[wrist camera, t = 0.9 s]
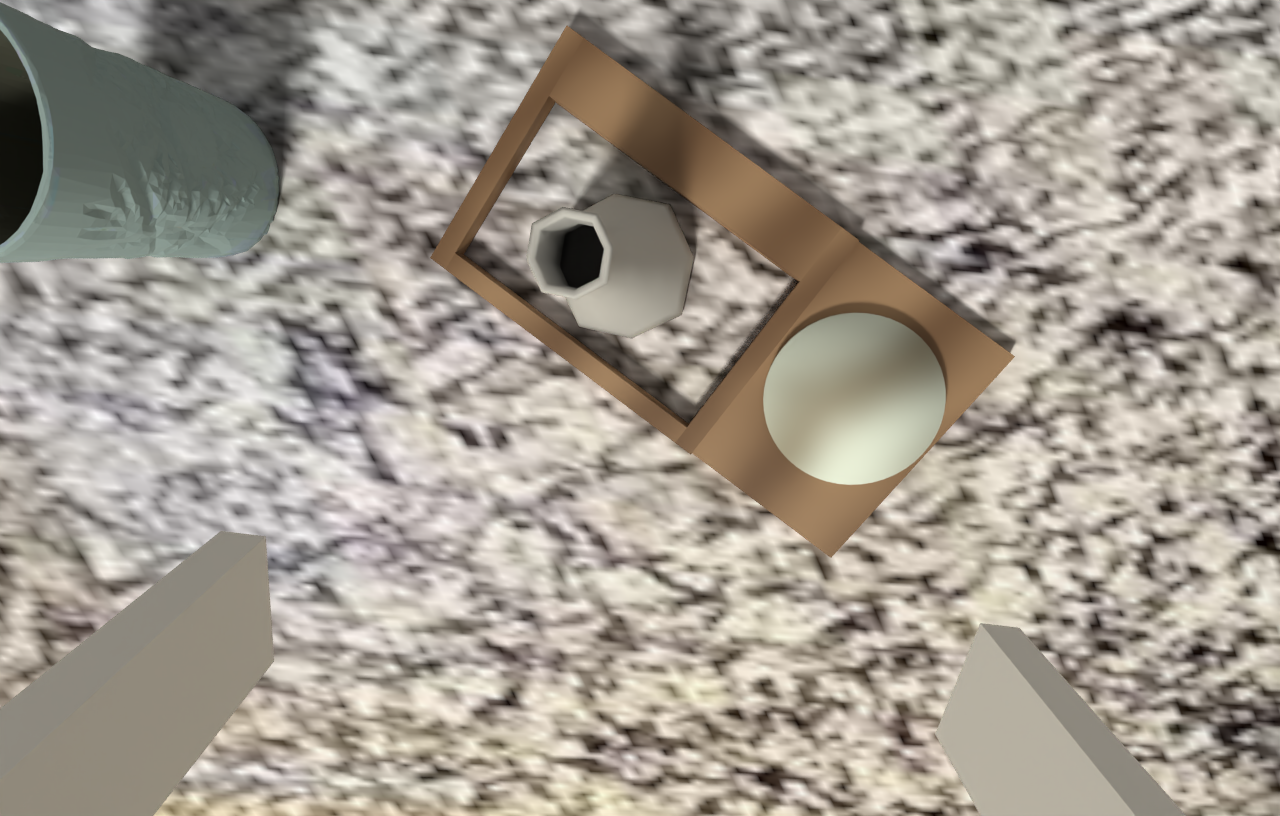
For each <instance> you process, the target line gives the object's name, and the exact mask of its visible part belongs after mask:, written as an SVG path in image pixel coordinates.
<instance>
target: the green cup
mask: <svg viewBox="0 0 1280 816" xmlns="http://www.w3.org/2000/svg"><path fill="white" fill-rule="evenodd" d="M277 173H278V168H277V162H276V159H275V156H274V153H273V150H272V148H271V146H270V144H269V142H268V140H267V138H266V137H265V135H264V134H263V132H262V131H261V130H260V128H259V127H258V126H257V124H256V123H255V122H254V121H253V120H252V119H251V118H250V117H249V116H248V115H246V114H245V113H244V112H242V111H241V110H240V109H238V108H237V107H236V106H234V105H232V104H230V103H229V102H227V101H225V100H223V99H220V98H218V97H216V96H214V95H212V94H209V93H207V92H205V91H203V90H200V89H198V88H196V87H193V86H191V85H189V84H187V83H184V82H182V81H180V80H177V79H174V78H171V77H168V76H167V75H165V74H163V73H161V72H159V71H157V70H155V69H152V68H150V67H148V66H145V65H142V64H140V63H138V62H136V61H135V60H133V59H131V58H128V57H125V56H123V55H121V54H118V53H113V52H107V51H104V50H100V49H96V48H93V47H91V46H90V45H88V44H87V43H86V42H84V41H83V40H82V39H80V38H78V37H76V36H75V35H72V34H69V33H66V32H63V31H60V30H58V29H55V28H53V27H52V26H50V25H47V24H45V23H43V22H40V21H38V20H36V19H34V18H32V17H31V16H29V15H27V14H25V13H23V12H20V11H18V10H16V9H14V8H12V7H9V6H7V5H5V4H3V3H1V2H0V263H11V262H39V261H48V260H56V259H66V258H125V259H132V258H138V257H145V256H152V257H186V258H218V257H224V256H230V255H235V254H238V253H242V252H245V251H247V250H249V249H250V248H251V247H252V246H254V245H255V244H256V243H257V242H258V241H260V240H261V238H262V236H263V235H265V234H267V232H268V230H269V226H270V223H271V222H272V221H273V220H274V215H275V213H276V208H277V204H278V196H279V184H278V183H279V176H278V174H277Z"/></svg>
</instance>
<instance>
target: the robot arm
mask: <svg viewBox="0 0 1280 816" xmlns="http://www.w3.org/2000/svg"><path fill="white" fill-rule="evenodd" d="M273 662H274V652H273V638H272V623H271V608H270V593H269V579H268V564H267V549H266V536H258V535H249V534H241V533H233V532H225V531H220V532H219V533H218V534H217V535H215V536H214V537H213V538H212V539H210V540H209V541H208V542H207V543H206V544H204V545H203V546H202V547H201V548H199V549H198V550H197V551H196V552H194V553H193V554H192V555H191V556H189V557H188V558H187V559H186V560H184V561H183V562H182V563H181V564H179V565H178V566H177V567H176V568H174V569H173V570H172V571H171V572H169V573H168V574H167V575H166V576H164V577H163V578H162V579H161V580H160V581H158V582H157V583H156V584H155V585H153V586H152V587H151V588H150V589H148V590H147V591H146V592H145V593H143V594H142V595H141V596H140V597H138V598H137V599H136V600H135V601H133V602H132V603H131V604H130V605H128V606H127V607H126V608H125V609H123V610H122V611H121V612H120V613H118V614H117V615H116V616H115V617H113V618H112V619H111V620H110V621H109V622H107V623H106V624H105V625H104V626H102V627H101V628H100V629H99V630H97V631H96V632H95V633H94V634H92V635H91V636H90V637H89V638H87V639H86V640H85V641H84V642H82V643H81V644H80V645H79V646H77V647H76V648H75V649H74V650H72V651H71V652H70V653H69V654H67V655H66V656H65V657H64V658H63V659H61V660H60V661H59V662H58V663H56V664H55V665H54V666H53V667H51V668H50V669H49V670H48V671H46V672H45V673H44V674H43V675H41V676H40V677H39V678H38V679H36V680H35V681H34V682H33V683H31V684H30V685H29V686H28V687H26V688H25V689H24V690H23V691H21V692H20V693H19V694H18V695H16V696H15V697H14V698H13V699H12V700H10V701H9V702H8V703H7V704H5V705H4V706H3V707H2V708H0V816H153V815H154V814H155V813H156V812H157V810H158V809H159V808H160V806H161V805H162V804H163V803H164V801H165V800H166V799H167V797H168V796H169V795H170V794H171V792H172V791H173V790H174V789H175V787H176V786H177V785H178V783H179V782H180V781H181V780H182V778H183V777H184V776H185V774H186V773H187V772H188V771H189V769H190V768H191V767H192V765H193V764H194V763H195V762H196V760H197V759H198V758H199V757H200V755H201V754H202V753H203V751H204V750H205V749H206V748H207V746H208V745H209V744H210V742H211V741H212V740H213V739H214V737H215V736H216V735H217V733H218V732H219V731H220V730H221V728H222V727H223V726H224V725H225V723H226V722H227V721H228V719H229V718H230V717H231V716H232V714H233V713H234V712H235V710H236V709H237V708H238V707H239V705H240V704H241V703H242V701H243V700H244V699H245V698H246V696H247V695H248V694H249V692H250V691H251V690H252V689H253V687H254V686H255V685H256V684H257V682H258V681H259V680H260V678H261V677H262V676H263V675H264V673H265V672H266V671H267V669H268V668H269V667H270V666H271V664H272V663H273ZM936 736H937V738H938V740H939V742H940V743H941V745H942V747H943V749H944V751H945V752H946V754H947V756H948V758H949V760H950V761H951V763H952V765H953V767H954V769H955V770H956V772H957V774H958V776H959V778H960V779H961V781H962V783H963V785H964V787H965V788H966V790H967V792H968V794H969V796H970V797H971V799H972V801H973V803H974V805H975V806H976V808H977V810H978V812H979V814H980V815H981V816H1186V815H1185V814H1184V813H1183V812H1182V811H1181V809H1180V808H1179V807H1178V806H1177V805H1176V804H1175V803H1174V802H1173V800H1172V799H1171V798H1170V797H1169V796H1168V795H1167V794H1166V793H1165V791H1164V790H1163V789H1162V788H1161V787H1160V786H1159V785H1158V784H1157V782H1156V781H1155V780H1154V779H1153V778H1152V777H1151V776H1150V775H1149V773H1148V772H1147V771H1146V770H1145V769H1144V768H1143V767H1142V766H1141V764H1140V763H1139V762H1138V761H1137V760H1136V759H1135V758H1134V757H1133V755H1132V754H1131V753H1130V752H1129V751H1128V750H1127V749H1126V748H1125V746H1124V745H1123V744H1122V743H1121V742H1120V741H1119V740H1118V739H1117V737H1116V736H1115V735H1114V734H1113V733H1112V732H1111V731H1110V730H1109V728H1108V727H1107V726H1106V725H1105V724H1104V723H1103V722H1102V721H1101V719H1100V718H1099V717H1098V716H1097V715H1096V714H1095V713H1094V711H1093V710H1092V709H1091V708H1090V707H1089V706H1088V705H1087V704H1086V702H1085V701H1084V700H1083V699H1082V698H1081V697H1080V696H1079V695H1078V693H1077V692H1076V691H1075V690H1074V689H1073V688H1072V687H1071V686H1070V684H1069V683H1068V682H1067V681H1066V680H1065V679H1064V678H1063V677H1062V675H1061V674H1060V673H1059V672H1058V671H1057V670H1056V669H1055V668H1054V666H1053V665H1052V664H1051V663H1050V662H1049V661H1048V660H1047V659H1046V657H1045V656H1044V655H1043V654H1042V653H1041V652H1040V651H1039V650H1038V648H1037V647H1036V646H1035V645H1034V644H1033V643H1032V642H1031V641H1030V639H1029V638H1028V637H1027V636H1026V635H1025V634H1024V633H1023V632H1022V630H1021V629H1020V628H1015V627H1007V626H999V625H991V624H982V623H980V625H979V628H978V630H977V633H976V635H975V638H974V640H973V643H972V645H971V648H970V650H969V653H968V655H967V657H966V660H965V662H964V665H963V667H962V670H961V672H960V675H959V677H958V680H957V682H956V685H955V687H954V689H953V692H952V694H951V697H950V699H949V702H948V704H947V707H946V709H945V712H944V714H943V717H942V719H941V722H940V724H939V726H938V729H937V731H936Z"/></svg>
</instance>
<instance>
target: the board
mask: <svg viewBox="0 0 1280 816" xmlns="http://www.w3.org/2000/svg"><path fill="white" fill-rule="evenodd" d="M555 102H556V103H557V104H558V105H560V106H561V107H563V108H564V109H565V110H567V111H568V112H569V113H571V114H572V115H573V116H575V117H576V118H577V119H579V120H580V121H581V122H583V123H584V124H585V125H587V126H588V127H590V128H591V129H592V130H594V131H595V132H596V133H598V134H599V135H600V136H602V137H603V138H604V139H606V140H607V141H608V142H610V143H611V144H613V145H614V146H615V147H617V148H618V149H619V150H621V151H622V152H623V153H625V154H626V155H627V156H629V157H630V158H631V159H633V160H634V161H636V162H637V163H638V164H640V165H641V166H642V167H644V168H645V169H646V170H648V171H649V172H650V173H652V174H653V175H654V176H656V177H657V178H658V179H660V180H661V181H663V182H664V183H665V184H667V185H668V186H669V187H671V188H672V189H673V190H675V191H676V192H677V193H679V194H680V195H681V196H683V197H684V198H686V199H687V200H688V201H690V202H691V203H692V204H694V205H695V206H696V207H698V208H699V209H700V210H702V211H703V212H704V213H706V214H707V215H709V216H710V217H711V218H713V219H714V220H715V221H717V222H718V223H719V224H721V225H722V226H723V227H725V228H726V229H727V230H729V231H730V232H731V233H733V234H734V235H736V236H737V237H738V238H740V239H741V240H742V241H744V242H745V243H746V244H748V245H749V246H750V247H752V248H753V249H754V250H756V251H757V252H759V253H760V254H761V255H763V256H764V257H765V258H767V259H768V260H769V261H771V262H772V263H773V264H775V265H776V266H777V267H779V268H780V269H782V270H783V271H784V272H786V273H787V274H788V275H790V276H791V277H792V278H794V279H795V280H796V281H798V283H797V284H796V286H795V287H794V288H793V290H792V291H791V292H790V294H789V295H788V296H787V297H786V299H785V300H784V301H783V303H782V304H781V305H780V306H779V308H778V309H777V310H776V312H775V313H774V314H773V315H772V317H771V318H770V319H769V321H768V322H767V323H766V324H765V326H764V327H763V328H762V330H761V331H760V332H759V334H758V335H757V336H756V337H755V339H754V340H753V341H752V343H751V344H750V345H749V346H748V348H747V349H746V350H745V352H744V353H743V354H742V355H741V357H740V358H739V359H738V361H737V362H736V363H735V365H734V366H733V367H732V368H731V370H730V371H729V372H728V374H727V375H726V376H725V377H724V379H723V380H722V381H721V383H720V384H719V385H718V386H717V388H716V389H715V390H714V392H713V393H712V394H711V395H710V397H709V398H708V399H707V401H706V402H705V403H704V405H703V406H702V407H701V408H700V410H699V411H698V412H697V414H696V415H695V416H694V417H693V419H692V420H691V421H690V423H689V424H688V423H687V422H686V421H684V420H683V419H682V418H680V417H679V416H678V415H676V414H675V413H674V412H672V411H671V410H670V409H668V408H667V407H666V406H664V405H663V404H662V403H660V402H659V401H658V400H656V399H655V398H654V397H652V396H651V395H650V394H648V393H647V392H646V391H644V390H643V389H642V388H641V387H639V386H638V385H637V384H635V383H634V382H633V381H631V380H630V379H629V378H627V377H626V376H625V375H623V374H622V373H621V372H619V371H618V370H617V369H615V368H614V367H613V366H611V365H610V364H609V363H607V362H606V361H605V360H603V359H602V358H601V357H599V356H598V355H597V354H595V353H594V352H593V351H591V350H590V349H589V348H587V347H586V346H585V345H583V344H582V343H581V342H579V341H578V340H577V339H575V338H574V337H573V336H571V335H570V334H569V333H567V332H566V331H565V330H563V329H562V328H561V327H559V326H558V325H557V324H556V323H554V322H553V321H552V320H550V319H549V318H548V317H546V316H545V315H544V314H542V313H541V312H540V311H538V310H537V309H536V308H534V307H533V306H532V305H530V304H529V303H528V302H526V301H525V300H524V299H522V298H521V297H520V296H518V295H517V294H516V293H514V292H513V291H512V290H510V289H509V288H508V287H506V286H505V285H504V284H502V283H501V282H500V281H498V280H497V279H496V278H494V277H493V276H492V275H490V274H489V273H488V272H486V271H485V270H484V269H482V268H481V267H480V266H478V265H477V264H476V263H474V262H473V261H472V260H471V259H469V258H468V257H467V256H465V255H464V253H465V252H466V250H467V248H468V247H469V245H470V243H471V242H472V240H473V238H474V237H475V235H476V233H477V232H478V230H479V228H480V227H481V225H482V223H483V222H484V220H485V218H486V217H487V215H488V213H489V212H490V210H491V208H492V207H493V205H494V203H495V202H496V200H497V199H498V197H499V195H500V194H501V192H502V190H503V189H504V187H505V185H506V184H507V182H508V180H509V179H510V177H511V175H512V174H513V172H514V170H515V169H516V167H517V165H518V164H519V162H520V160H521V159H522V157H523V155H524V154H525V152H526V150H527V149H528V147H529V145H530V144H531V142H532V140H533V139H534V137H535V135H536V134H537V132H538V130H539V129H540V127H541V126H542V124H543V122H544V121H545V119H546V117H547V116H548V114H549V112H550V111H551V109H552V107H553V106H554V104H555ZM430 258H431V259H433V260H434V261H435V262H436V263H438V264H439V265H440V266H442V267H443V268H444V269H446V270H447V271H448V272H450V273H451V274H452V275H454V276H455V277H456V278H458V279H459V280H460V281H462V282H463V283H464V284H466V285H467V286H468V287H470V288H471V289H472V290H474V291H475V292H476V293H478V294H479V295H480V296H482V297H483V298H484V299H486V300H487V301H488V302H489V303H491V304H492V305H493V306H495V307H496V308H497V309H499V310H500V311H501V312H503V313H504V314H505V315H507V316H508V317H509V318H511V319H512V320H513V321H515V322H516V323H517V324H519V325H520V326H521V327H523V328H524V329H525V330H527V331H528V332H529V333H531V334H532V335H533V336H535V337H536V338H537V339H539V340H540V341H541V342H542V343H544V344H545V345H546V346H548V347H549V348H550V349H552V350H553V351H554V352H556V353H557V354H558V355H560V356H561V357H562V358H564V359H565V360H566V361H568V362H569V363H570V364H572V365H573V366H574V367H576V368H577V369H578V370H580V371H581V372H582V373H584V374H585V375H586V376H588V377H589V378H590V379H592V380H593V381H594V382H596V383H597V384H598V385H599V386H601V387H602V388H603V389H605V390H606V391H607V392H609V393H610V394H611V395H613V396H614V397H615V398H617V399H618V400H619V401H621V402H622V403H623V404H625V405H626V406H627V407H629V408H630V409H631V410H633V411H634V412H635V413H637V414H638V415H639V416H641V417H642V418H643V419H645V420H646V421H647V422H649V423H650V424H651V425H652V426H654V427H655V428H656V429H658V430H659V431H660V432H662V433H663V434H664V435H666V436H667V437H668V438H670V439H671V440H672V441H674V442H675V443H676V444H678V445H679V446H680V447H682V448H683V449H684V450H686V451H687V452H688V453H690V454H692V453H693V454H694V455H695V456H697V457H698V458H699V459H701V460H702V461H703V462H705V463H706V464H707V465H709V466H710V467H711V468H713V469H714V470H715V471H717V472H718V473H719V474H721V475H722V476H723V477H725V478H726V479H727V480H729V481H730V482H731V483H733V484H734V485H735V486H737V487H738V488H739V489H741V490H742V491H743V492H745V493H746V494H747V495H748V496H750V497H751V498H752V499H754V500H755V501H756V502H758V503H759V504H760V505H762V506H763V507H764V508H766V509H767V510H768V511H770V512H771V513H772V514H774V515H775V516H776V517H778V518H779V519H780V520H782V521H783V522H784V523H786V524H787V525H788V526H790V527H791V528H792V529H794V530H795V531H796V532H798V533H799V534H800V535H802V536H803V537H804V538H805V539H807V540H808V541H809V542H811V543H812V544H813V545H815V546H816V547H817V548H819V549H820V550H821V551H823V552H824V553H825V554H827V555H828V556H829V557H832V556H833V555H834V554H835V553H836V552H837V551H838V549H839V548H840V547H841V546H842V545H843V544H844V543H845V542H846V541H847V540H848V539H849V537H850V536H851V535H852V534H853V533H854V532H855V531H856V530H857V529H858V528H859V526H860V525H861V524H862V523H863V522H864V521H865V520H866V519H867V518H868V517H869V516H870V514H871V513H872V512H873V511H874V510H875V509H876V508H877V507H878V506H879V505H880V504H881V502H882V501H883V500H884V499H885V498H886V497H887V496H888V495H889V494H890V493H891V491H892V490H893V489H894V488H895V487H896V486H897V485H898V484H899V483H900V482H901V481H902V479H903V478H904V477H905V476H906V475H907V474H908V473H909V472H910V471H911V470H912V469H913V467H914V466H915V465H916V464H917V463H918V462H919V461H920V460H921V459H922V458H923V456H924V455H925V454H926V453H927V452H928V451H929V450H930V449H931V448H932V447H933V446H934V444H935V443H936V442H937V441H938V440H939V439H940V438H941V437H942V436H943V435H944V434H945V432H946V431H947V430H948V429H949V428H950V427H951V426H952V425H953V424H954V423H955V421H956V420H957V419H958V418H959V417H960V416H961V415H962V414H963V413H964V412H965V411H966V409H967V408H968V407H969V406H970V405H971V404H972V403H973V402H974V401H975V400H976V398H977V397H978V396H979V395H980V394H981V393H982V392H983V391H984V390H985V389H986V388H987V386H988V385H989V384H990V383H991V382H992V381H993V380H994V379H995V378H996V377H997V376H998V374H999V373H1000V372H1001V371H1002V370H1003V369H1004V368H1005V367H1006V366H1007V365H1008V363H1009V362H1010V361H1011V360H1012V359H1013V358H1014V357H1015V356H1013V355H1012V354H1011V353H1009V352H1008V351H1007V350H1005V349H1004V348H1003V347H1001V346H1000V345H999V344H997V343H996V342H994V341H993V340H992V339H990V338H989V337H988V336H986V335H985V334H984V333H982V332H981V331H979V330H978V329H977V328H975V327H974V326H973V325H971V324H970V323H969V322H967V321H966V320H964V319H963V318H962V317H960V316H959V315H958V314H956V313H955V312H954V311H952V310H951V309H950V308H948V307H947V306H945V305H944V304H943V303H941V302H940V301H939V300H937V299H936V298H935V297H933V296H932V295H930V294H929V293H928V292H926V291H925V290H924V289H922V288H921V287H920V286H918V285H917V284H915V283H914V282H913V281H911V280H910V279H909V278H907V277H906V276H905V275H903V274H902V273H901V272H899V271H898V270H896V269H895V268H894V267H892V266H891V265H890V264H888V263H887V262H886V261H884V260H883V259H881V258H880V257H879V256H877V255H876V254H875V253H873V252H872V251H871V250H869V249H868V248H866V247H865V246H864V245H862V244H861V243H860V242H859V240H858V239H857V238H856V237H854V236H853V235H851V234H850V233H849V232H847V231H846V230H845V229H843V228H842V227H841V226H839V225H838V224H836V223H835V222H834V221H832V220H831V219H830V218H828V217H827V216H826V215H824V214H823V213H822V212H820V211H819V210H817V209H816V208H815V207H813V206H812V205H811V204H809V203H808V202H807V201H805V200H804V199H802V198H801V197H800V196H798V195H797V194H796V193H794V192H793V191H792V190H790V189H789V188H787V187H786V186H785V185H783V184H782V183H781V182H779V181H778V180H777V179H775V178H774V177H773V176H771V175H770V174H768V173H767V172H766V171H764V170H763V169H762V168H760V167H759V166H758V165H756V164H755V163H753V162H752V161H751V160H749V159H748V158H747V157H745V156H744V155H743V154H741V153H740V152H738V151H737V150H736V149H734V148H733V147H732V146H730V145H729V144H728V143H726V142H725V141H724V140H722V139H721V138H719V137H718V136H717V135H715V134H714V133H713V132H711V131H710V130H709V129H707V128H706V127H704V126H703V125H702V124H700V123H699V122H698V121H696V120H695V119H694V118H692V117H691V116H689V115H688V114H687V113H685V112H684V111H683V110H681V109H680V108H679V107H677V106H676V105H674V104H673V103H672V102H670V101H669V100H668V99H666V98H665V97H664V96H662V95H661V94H660V93H658V92H657V91H655V90H654V89H653V88H651V87H650V86H649V85H647V84H646V83H645V82H643V81H642V80H640V79H639V78H638V77H636V76H635V75H634V74H632V73H631V72H630V71H628V70H627V69H625V68H624V67H623V66H621V65H620V64H619V63H617V62H616V61H615V60H613V59H612V58H611V57H609V56H608V55H606V54H605V53H604V52H602V51H601V50H600V49H598V48H597V47H596V46H594V45H593V44H591V43H590V42H589V41H587V40H586V39H585V38H583V37H582V36H581V35H579V34H578V33H576V32H575V31H574V30H572V29H571V28H570V27H568V26H566V28H565V29H564V31H563V33H562V34H561V36H560V38H559V40H558V41H557V43H556V45H555V46H554V48H553V50H552V51H551V53H550V55H549V57H548V58H547V60H546V62H545V63H544V65H543V67H542V69H541V70H540V72H539V74H538V75H537V77H536V79H535V80H534V82H533V84H532V86H531V87H530V89H529V91H528V92H527V94H526V96H525V97H524V99H523V101H522V103H521V104H520V106H519V108H518V109H517V111H516V113H515V114H514V116H513V118H512V120H511V121H510V123H509V125H508V126H507V128H506V130H505V132H504V133H503V135H502V137H501V138H500V140H499V142H498V143H497V145H496V147H495V149H494V150H493V152H492V154H491V155H490V157H489V159H488V160H487V162H486V164H485V166H484V167H483V169H482V171H481V172H480V174H479V176H478V177H477V179H476V181H475V183H474V184H473V186H472V188H471V189H470V191H469V193H468V194H467V196H466V198H465V200H464V201H463V203H462V205H461V206H460V208H459V210H458V212H457V213H456V215H455V217H454V218H453V220H452V222H451V223H450V225H449V227H448V229H447V230H446V232H445V234H444V235H443V237H442V239H441V240H440V242H439V244H438V246H437V247H436V249H435V251H434V252H433V254H432V256H431V257H430Z"/></svg>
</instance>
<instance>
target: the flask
mask: <svg viewBox="0 0 1280 816" xmlns="http://www.w3.org/2000/svg"><path fill="white" fill-rule="evenodd" d="M526 260H527V262H528V265H529V267H530V269H531V271H532V273H533V275H534V277H535V279H536V281H537V283H538V286H539V288H540V290H541V292H543V293H548V294H552V295H557V296H562V297H565V298H566V300H567V302H568V304H569V306H570V309H571V311H572V313H573V315H574V317H575V319H576V321H577V323H578V326H579V327H582V328H586V329H591V330H596V331H600V332H605V333H609V334H614V335H618V336H623V337H627V338H634V337H636V336H638V335H640V334H642V333H644V332H646V331H649V330H651V329H653V328H655V327H657V326H659V325H661V324H663V323H666V322H668V321H670V320H672V319H674V318H676V317H678V316H680V315H682V311H683V307H684V302H685V297H686V293H687V288H688V283H689V279H690V274H691V269H692V265H693V260H694V257H693V255H692V252H691V250H690V248H689V246H688V243H687V241H686V239H685V237H684V234H683V232H682V230H681V228H680V225H679V223H678V221H677V219H676V217H675V214H674V212H673V210H672V208H671V205H670V204H666V203H661V202H656V201H650V200H645V199H640V198H635V197H629V196H624V195H619V194H613V195H611V196H609V197H607V198H605V199H604V200H602V201H600V202H598V203H596V204H594V205H592V206H591V207H589V208H587V209H585V210H583V211H581V210H576V209H571V208H566V207H562V208H560V209H558V210H556V211H554V212H552V213H551V214H549V215H547V216H545V217H543V218H541V219H540V220H538V221H536V222H534V223H532V226H531V233H530V239H529V245H528V252H527V258H526Z"/></svg>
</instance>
